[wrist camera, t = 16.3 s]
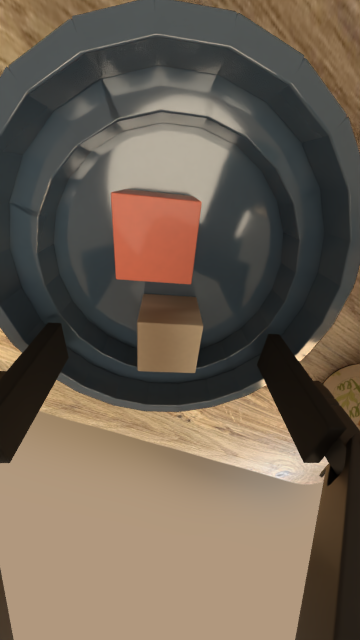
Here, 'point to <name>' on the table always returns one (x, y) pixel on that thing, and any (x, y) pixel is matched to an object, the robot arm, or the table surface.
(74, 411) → the table surface
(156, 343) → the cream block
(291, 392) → the robot arm
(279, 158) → the bowl
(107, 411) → the table surface
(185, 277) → the coral block
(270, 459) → the table surface
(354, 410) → the mug
